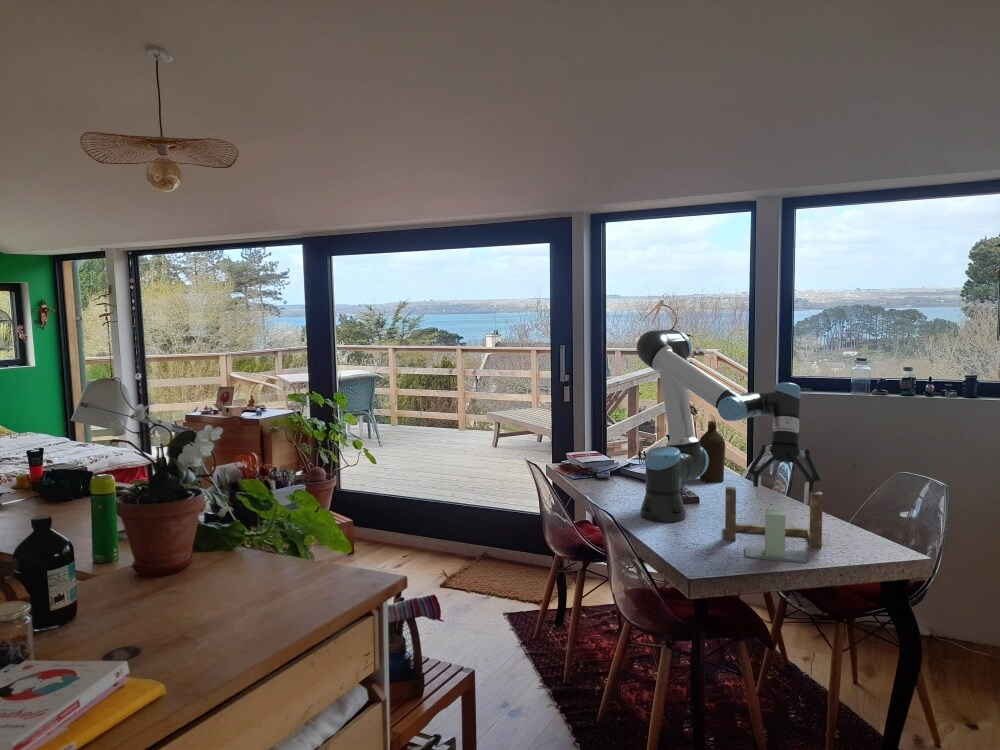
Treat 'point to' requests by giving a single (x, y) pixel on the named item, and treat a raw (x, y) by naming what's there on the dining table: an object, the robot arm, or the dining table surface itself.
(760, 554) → the mat
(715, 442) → the olive oil
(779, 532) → the tall green square pillar
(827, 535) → the dining table surface
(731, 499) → the frame
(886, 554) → the dining table surface
